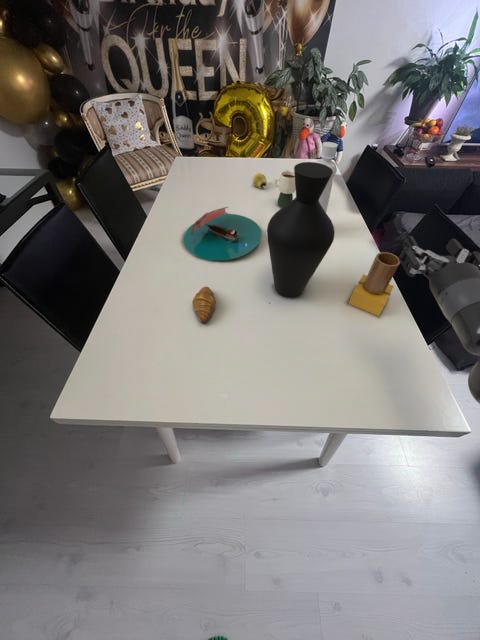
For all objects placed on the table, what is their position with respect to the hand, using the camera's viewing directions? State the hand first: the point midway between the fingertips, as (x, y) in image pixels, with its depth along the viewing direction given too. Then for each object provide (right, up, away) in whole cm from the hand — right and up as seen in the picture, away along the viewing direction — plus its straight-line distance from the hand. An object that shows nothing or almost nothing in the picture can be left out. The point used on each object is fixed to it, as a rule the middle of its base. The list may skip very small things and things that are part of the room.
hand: (428, 241), depth 60 cm
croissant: (-48, -12, +25) cm, 56 cm away
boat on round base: (-45, +13, +48) cm, 67 cm away
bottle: (-12, +17, +52) cm, 56 cm away
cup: (0, -7, +24) cm, 25 cm away
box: (0, -10, +28) cm, 30 cm away
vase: (-24, -6, +31) cm, 39 cm away
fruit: (-29, +45, +76) cm, 93 cm away
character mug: (-20, +32, +65) cm, 75 cm away
